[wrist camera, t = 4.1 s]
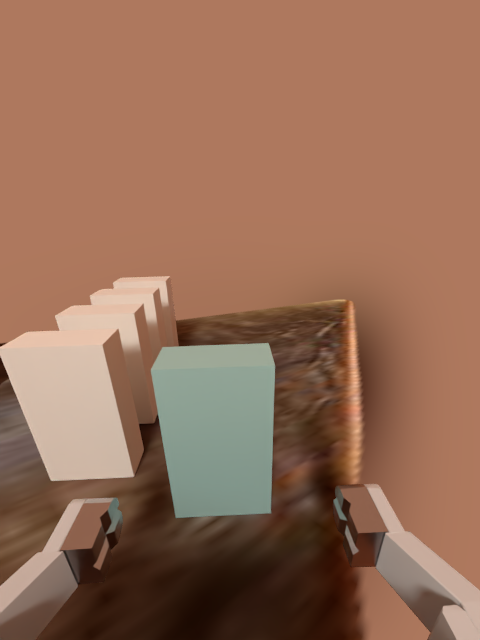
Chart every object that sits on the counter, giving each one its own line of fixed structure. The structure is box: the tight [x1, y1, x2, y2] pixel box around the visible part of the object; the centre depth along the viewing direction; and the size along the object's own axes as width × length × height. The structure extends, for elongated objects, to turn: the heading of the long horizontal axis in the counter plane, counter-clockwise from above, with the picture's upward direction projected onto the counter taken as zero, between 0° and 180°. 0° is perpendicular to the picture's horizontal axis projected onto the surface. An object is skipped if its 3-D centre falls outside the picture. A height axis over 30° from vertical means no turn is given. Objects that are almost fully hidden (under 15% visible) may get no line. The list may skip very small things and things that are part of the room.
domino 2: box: [55, 304, 158, 424], centre depth 20 cm, size 5×2×9 cm, turn 92°
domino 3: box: [0, 328, 144, 481], centre depth 15 cm, size 5×2×9 cm, turn 92°
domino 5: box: [151, 343, 275, 518], centre depth 13 cm, size 5×2×9 cm, turn 92°
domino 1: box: [90, 287, 167, 364], centre depth 24 cm, size 5×2×9 cm, turn 92°
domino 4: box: [113, 276, 179, 347], centre depth 28 cm, size 5×2×9 cm, turn 92°
